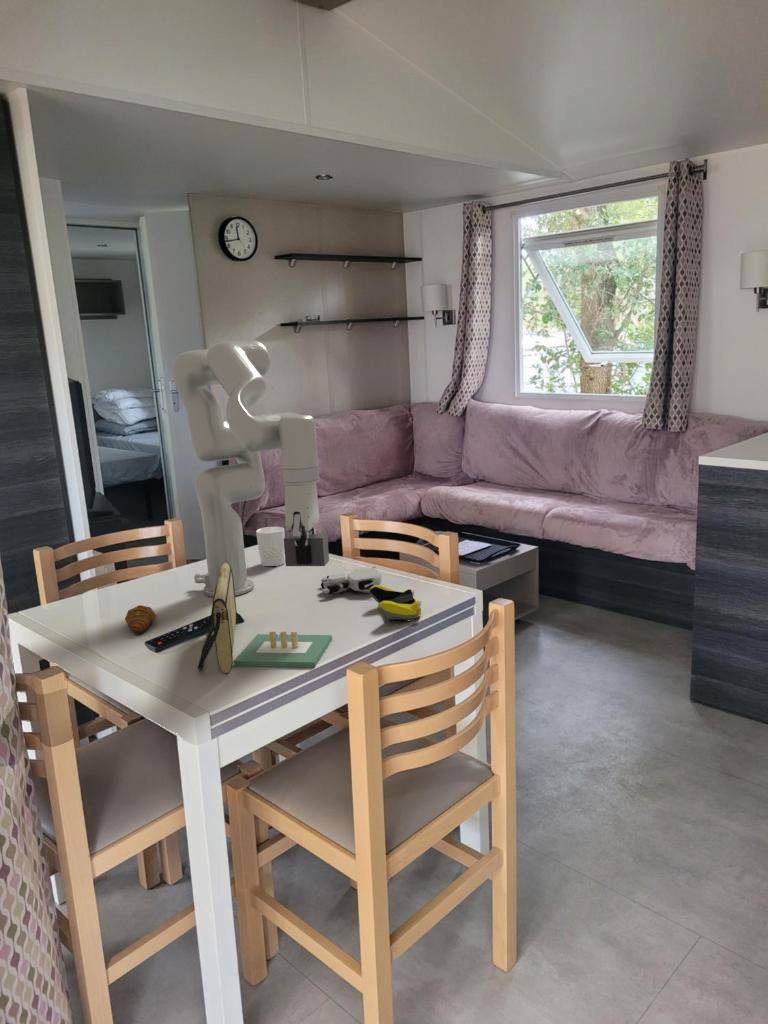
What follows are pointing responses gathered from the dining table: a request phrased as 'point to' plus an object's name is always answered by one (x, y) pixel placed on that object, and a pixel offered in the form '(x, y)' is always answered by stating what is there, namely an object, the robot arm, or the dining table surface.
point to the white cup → (271, 545)
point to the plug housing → (317, 550)
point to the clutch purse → (222, 621)
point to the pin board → (284, 650)
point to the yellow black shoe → (396, 603)
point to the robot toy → (352, 581)
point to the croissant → (140, 618)
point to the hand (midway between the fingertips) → (307, 559)
